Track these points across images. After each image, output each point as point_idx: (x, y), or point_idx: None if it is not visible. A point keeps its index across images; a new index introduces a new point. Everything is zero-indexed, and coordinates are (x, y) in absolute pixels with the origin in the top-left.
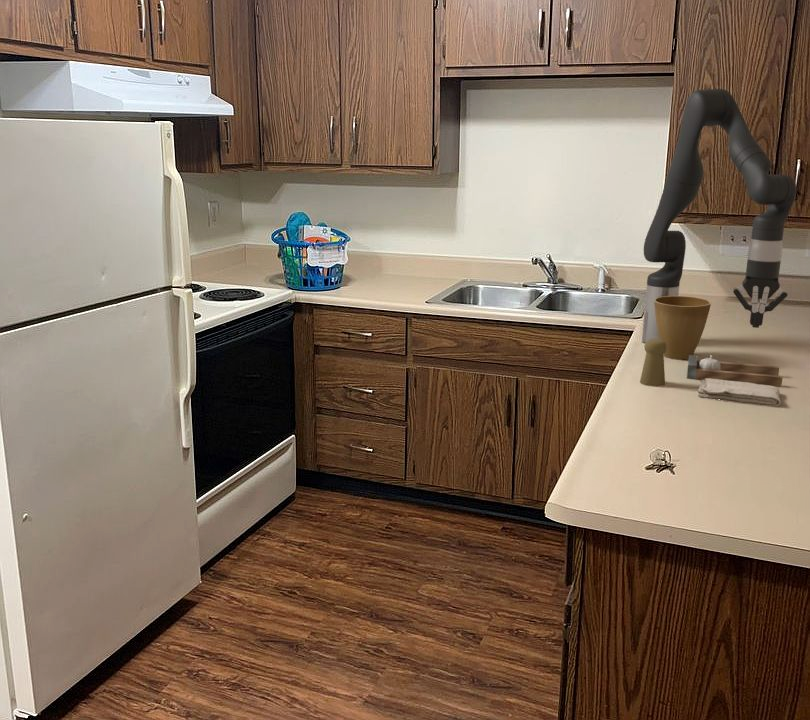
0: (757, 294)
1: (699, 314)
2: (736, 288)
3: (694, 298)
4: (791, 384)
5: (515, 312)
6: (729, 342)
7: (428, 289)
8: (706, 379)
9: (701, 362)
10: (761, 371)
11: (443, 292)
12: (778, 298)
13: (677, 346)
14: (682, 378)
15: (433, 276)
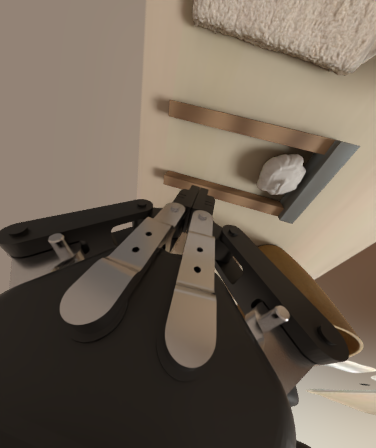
0: (181, 271)
1: None
2: (308, 365)
3: None
4: (156, 127)
5: (340, 362)
6: None
7: (366, 397)
8: (371, 42)
9: (304, 174)
10: (189, 178)
11: (360, 392)
12: (73, 226)
13: (287, 256)
14: (351, 140)
15: (331, 399)
